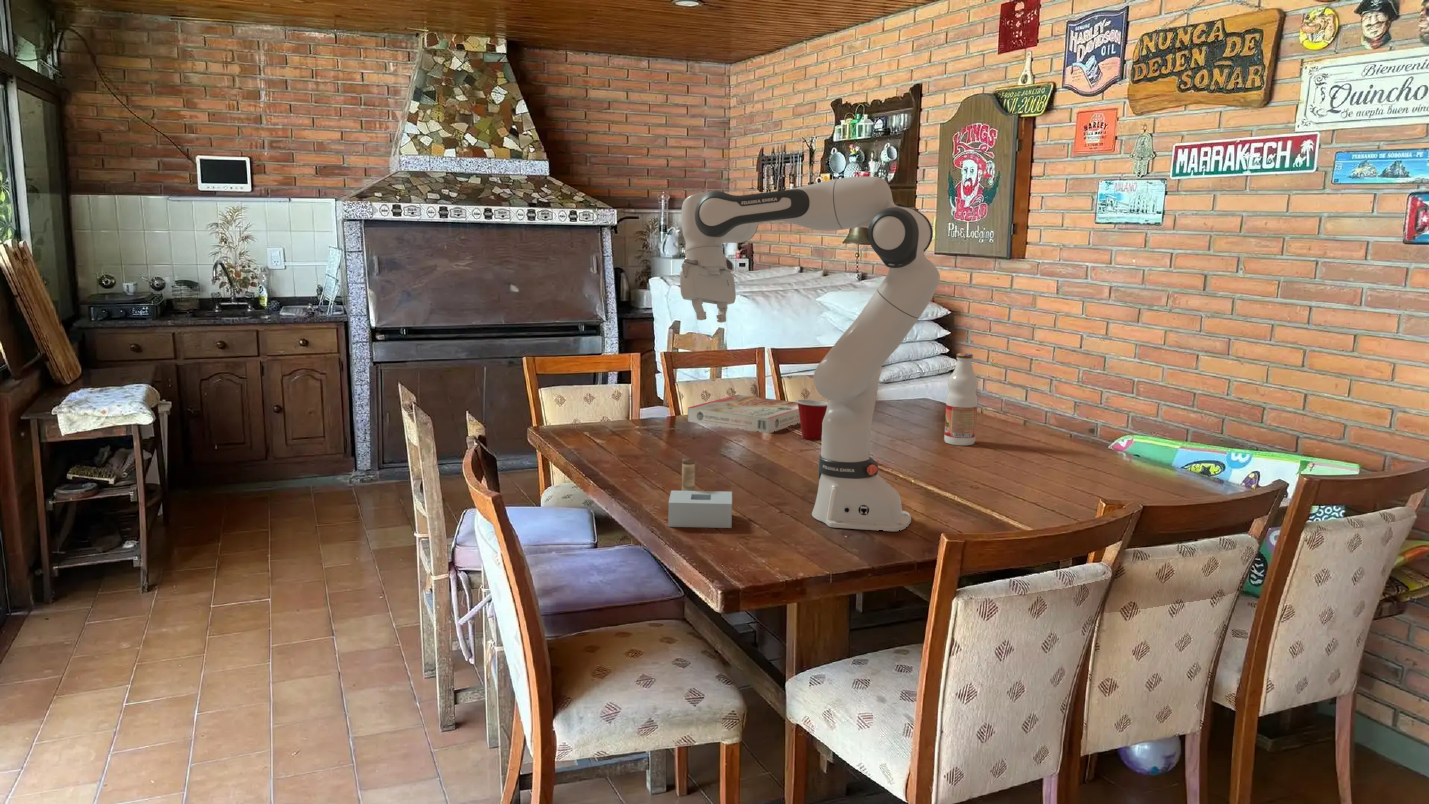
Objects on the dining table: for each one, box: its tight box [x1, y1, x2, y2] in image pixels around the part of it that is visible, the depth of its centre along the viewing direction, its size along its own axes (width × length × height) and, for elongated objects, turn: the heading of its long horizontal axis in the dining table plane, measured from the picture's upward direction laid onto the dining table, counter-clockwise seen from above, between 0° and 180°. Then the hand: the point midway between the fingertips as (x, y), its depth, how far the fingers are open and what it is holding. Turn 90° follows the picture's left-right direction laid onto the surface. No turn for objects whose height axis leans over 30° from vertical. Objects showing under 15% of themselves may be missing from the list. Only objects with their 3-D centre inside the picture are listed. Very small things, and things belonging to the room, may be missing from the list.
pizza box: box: [687, 394, 800, 434], centre depth 333 cm, size 32×5×32 cm
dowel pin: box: [681, 457, 696, 491], centre depth 226 cm, size 3×3×12 cm
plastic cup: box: [795, 399, 828, 441], centre depth 305 cm, size 11×11×12 cm
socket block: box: [667, 490, 733, 529], centre depth 218 cm, size 14×10×6 cm
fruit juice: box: [943, 352, 979, 447], centre depth 300 cm, size 9×9×28 cm
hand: (712, 321), depth 226 cm, fingers open, 8 cm apart
